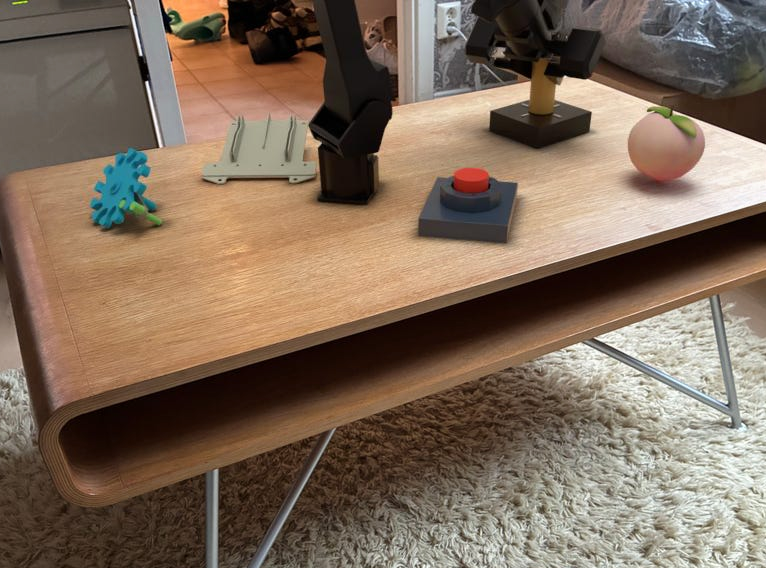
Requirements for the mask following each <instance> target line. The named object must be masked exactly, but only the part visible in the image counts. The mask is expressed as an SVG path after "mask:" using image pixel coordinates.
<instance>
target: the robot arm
mask: <svg viewBox="0 0 766 568" xmlns="http://www.w3.org/2000/svg"><path fill="white" fill-rule="evenodd" d="M311 3H312V7H313V11H314V16H315V19H316V22H317V28H318V31H319V34H320V35H319V36H320V39H321V43H322V46H323V51H324V55H325V65H324V70H323V77H322V88H323V89H322V90H323V97H324V101H323V103H322V104H321V105H320V107H319V108H318V110H317V111H316V112H315V114H314V116H313V117H312V118H311V120H310V121H308V129H309V131H310V133H311V135H312V138H313V139H314V140H315V141H317V142H319V143H321V144H320V145H319V146H318V147H317V158H318V168H319V170H318V171H319V181H320V182H319V183H320V191H319V192H318V194H317V195H316V200H317V201H318V202H327V203H342V204H351V205H352V204H354V205H355V204H356V205H367V204H369V202H370V200H371V199H372V197H373V195H375V193H376V192H377V190H378V189H379V188H380V170H379V169H380V168H379V156H378V155H376V154H378V153H379V152H380V150H381V145H382V141H383V139H384V135H385V131H386V128H387V126H388V125H389V122H390V121H391V120H392V118H393V114H394V112H393V103H392V102H394V103H395V102H397V98H396V96H395V95H394V93H393V90H392V87H391V86H392V85H391V74H390V70H389V67H388V66H386V65H384V64H383V63H381V62H378V61H375V60H373V59H372V58H370V57H369V54H368V52H367V49H366V45H365V44H366V43H365V40H364V35H363V31H362V25H361V22H360V15H359V12H358V8H357V4H356V3H357V2H356V0H311ZM567 3H568V0H474V1H473V3H472V4H471V8H470V13H471V14H472V15H474V16H476V20H475V21H474V23H473V25H472V27H471V30H470V31H469V35H468V37H467V39H466V41H465V44H464V55H465V56H466V58H467V59H468V61H469V63H472V64H479V65H488V64H489V63H490V61H491V59H492V58H494V61H493V67H494V68H495V69H500V70H503V71H504V72H508V73H511V74H513V75H516V76H518V77H521V78H524V79H526V80H529V81H531V75H532V63H533V62H538V61H539V59H544V60H549V62H548V65H547V67H546V69H545V72H544V76H546V77H547V78H548V79H550V80H551V81H552V82H553V83H555V84H556V86H561V85H562V82H563V80H564V77H567V78H571V79H579V80H584V81H586V80H588V79H590V78H591V77H593V73H594V71H595V69H596V67H597V64H598V62H599V59H600V58H601V55H602V52H603V51H604V48H605V46H606V43H607V42H606V41H607V40H606V38H605V35H604V33H603V31H602V29H600V28H593V27H585V26H574V27H573V28H572V29H571V31H567V30H566V31H565V30H558V31H557V32H556V33H555V34H552V31H556V29H557V28H558V25H559V20H558V17H557V16H558V15H559V13H560V12H561V10H562V9H563V7H564V6H566V5H567ZM491 57H492V58H491Z"/></svg>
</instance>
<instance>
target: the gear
mask: <svg viewBox="0 0 766 568" xmlns="http://www.w3.org/2000/svg"><path fill="white" fill-rule="evenodd" d="M114 161H115V163H114V166H113V165H111V164H107V165H106V166H105V167H104V168H103V170H102V174H104V175H105V182H103V181H102V180H97V182H96V183H95V185H94V187H93V191H95V192H97V193H98V194H101V196H100V198H99V199H98V198H96V197H93V198H91V201H90V204H89V208H90V209H93V210H94V211H93V212H92V215H91V219H92V222H94V223H96V224H99V225H101V226H102V227H105V228H106V229H110V227H111V226H112V224H113V223H114V224H115V225H120V224H122V223H124V220H125V212H126V213H129V214H132V213H133V217H134V218H136V219H138V220H140V221H142V220H145V219H146V220H147V221H149V222H151V223H154V224H155V225H158V226H160V225H162V223H163V220H162V219H161V218H159V217H157V216H155V215H153V213H150V212H149V211H155V209H156V208H157V203H156V202H154V201H152V200H150V199H149V198H147V197H145V196H143V195H144V193H145V192H146V190H147V188H148V185H147V184H145V183H143V182H142V181H139V179H140V177H141V176H142V177H143V178H145V179H146V178H148V177H149V176H150V173H151V167H150V166H149V165H147V162H148V161H149V160H148V155H147V154H146V153H145V152H143V151H141V150H140V151H137V150H136V149H134V148H132V147H130V148H129V149H128V150H127V153H126V154H125V153H124V152H119V153H117V154H116V155H115V159H114Z"/></svg>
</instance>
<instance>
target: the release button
mask: <svg viewBox="0 0 766 568" xmlns="http://www.w3.org/2000/svg"><path fill="white" fill-rule="evenodd" d="M453 175H454V190H455V191H458V192H461V193H472V194H475V193H481V192H485V191H487V190H488V183H489V177H490V173H489V172H488V171H487V170H485V169H483V168H478V167H463V168H459V169H457V170H455V171H454V172H453Z"/></svg>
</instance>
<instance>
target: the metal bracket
mask: <svg viewBox="0 0 766 568" xmlns="http://www.w3.org/2000/svg"><path fill="white" fill-rule="evenodd" d="M236 116H237V117H236V120H231V121H230V122H229V126H228V128H227V129H228V130H227V133H226V138H225V141H224V146H223V149H222V154H221V157H220V161H219V162H218V161H216V162H215V161H211V162H209V161H208V162H204V164H203V168H202V171H201V179H203V180H206V181H208V182H211V183H214V184H216V185H224V184H226V183H227V180H228V179H261V178H263V179H265V178H266V179H267V178H269V179H271V178H272V179H273V178H276V179H277V178H278V179H280V178H283V179H284V178H288V180H289V183H290V184H298V183H302V182H304V181H308V180H311V179H314V178H316V174H317V167H318V163H317V161H315V160H314V161H313V160H311V161H307V160H306V161H304V154H305V149H306V141H307V134H308V129H309V127H308V124H309V120H307V119H297V117H296V114H293V115H292V114H289V119H281V120H279V119H277V120H276V119H273V120H272V118H271V112H269V111H268V112H267V116H266V119H265V120H245V117H244V115H243V114H242V115H236Z"/></svg>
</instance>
